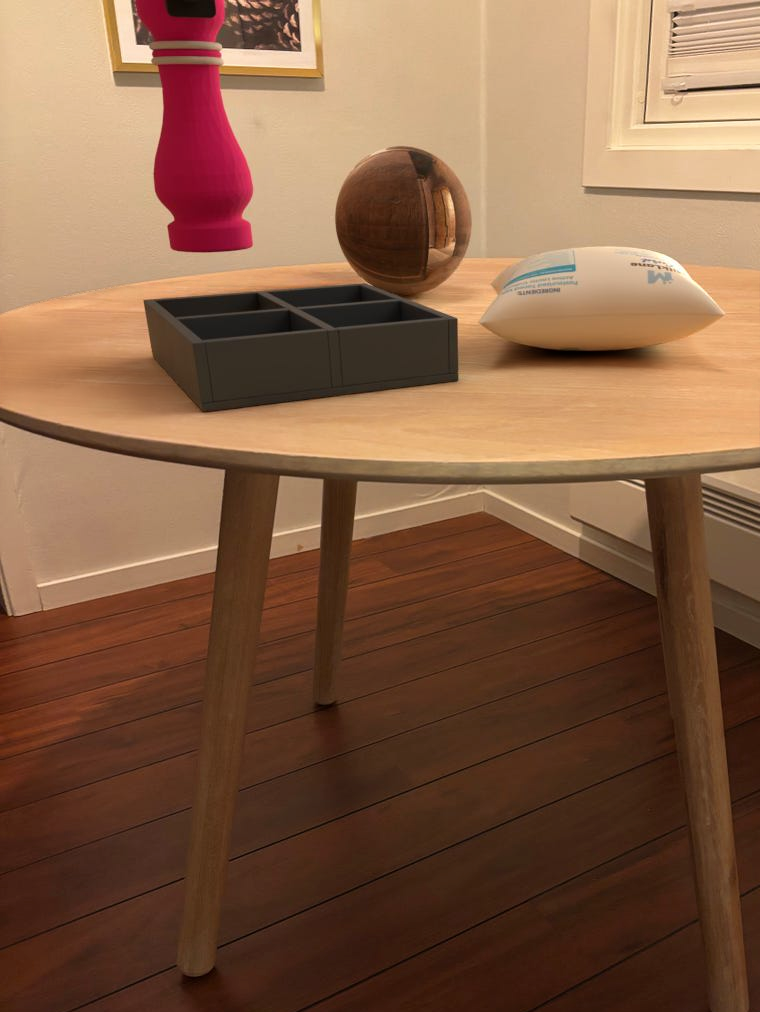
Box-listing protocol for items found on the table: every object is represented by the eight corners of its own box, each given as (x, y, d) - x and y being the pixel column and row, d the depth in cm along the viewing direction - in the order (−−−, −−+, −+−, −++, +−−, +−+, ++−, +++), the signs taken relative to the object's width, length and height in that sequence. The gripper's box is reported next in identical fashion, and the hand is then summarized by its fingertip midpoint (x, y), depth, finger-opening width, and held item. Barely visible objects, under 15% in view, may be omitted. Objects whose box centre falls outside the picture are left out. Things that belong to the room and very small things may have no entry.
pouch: (491, 236, 89) (479, 254, 71) (694, 242, 89) (733, 262, 71) (488, 323, 93) (476, 361, 75) (684, 330, 92) (718, 371, 74)
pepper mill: (144, 249, 73) (91, -73, 63) (216, 240, 78) (178, -58, 68) (207, 256, 69) (162, -85, 59) (278, 246, 74) (247, -69, 65)
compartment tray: (202, 412, 64) (192, 343, 62) (152, 356, 80) (143, 299, 77) (458, 380, 72) (458, 318, 70) (368, 335, 87) (365, 283, 85)
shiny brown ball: (330, 287, 112) (319, 145, 105) (451, 281, 116) (449, 144, 109) (354, 308, 100) (343, 148, 93) (489, 300, 104) (489, 146, 96)
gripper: (57, -292, 63) (109, 29, 72) (88, -405, 49) (148, 7, 58) (171, -274, 66) (208, 32, 75) (231, -376, 52) (267, 12, 61)
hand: (181, 18), depth 66 cm, fingers closed on pepper mill, 6 cm apart
